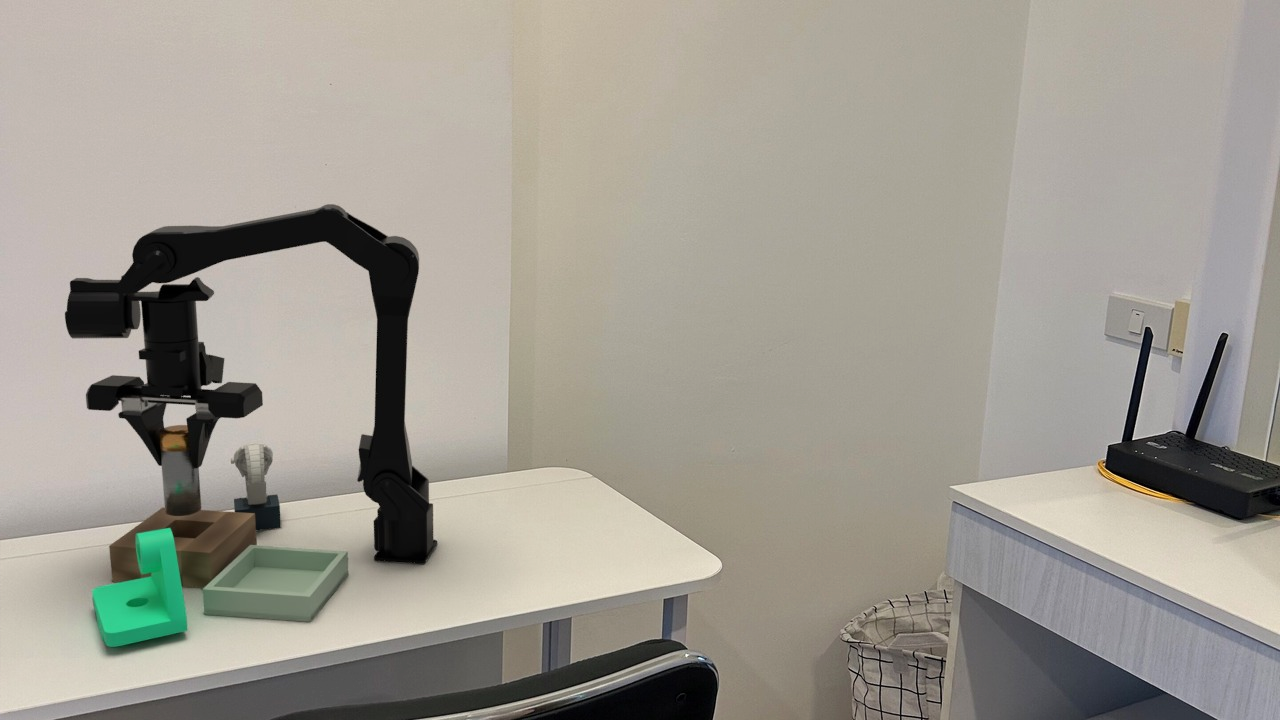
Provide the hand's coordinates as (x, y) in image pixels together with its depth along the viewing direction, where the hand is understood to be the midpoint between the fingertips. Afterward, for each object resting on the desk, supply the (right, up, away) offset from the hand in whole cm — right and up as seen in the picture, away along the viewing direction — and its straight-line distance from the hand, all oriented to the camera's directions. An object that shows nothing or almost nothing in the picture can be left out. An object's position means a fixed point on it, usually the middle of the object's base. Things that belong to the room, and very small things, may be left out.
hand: (180, 465), depth 125 cm
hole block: (0, -12, +3) cm, 12 cm away
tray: (+13, -14, -4) cm, 20 cm away
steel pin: (0, -5, +1) cm, 6 cm away
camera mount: (+1, -16, -11) cm, 20 cm away
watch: (+4, -9, +15) cm, 18 cm away
